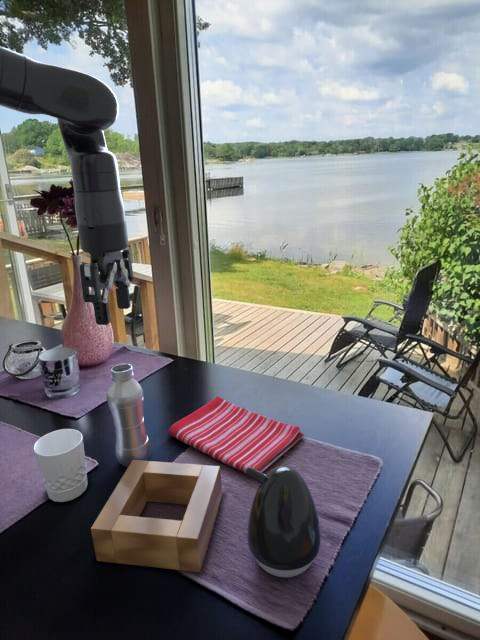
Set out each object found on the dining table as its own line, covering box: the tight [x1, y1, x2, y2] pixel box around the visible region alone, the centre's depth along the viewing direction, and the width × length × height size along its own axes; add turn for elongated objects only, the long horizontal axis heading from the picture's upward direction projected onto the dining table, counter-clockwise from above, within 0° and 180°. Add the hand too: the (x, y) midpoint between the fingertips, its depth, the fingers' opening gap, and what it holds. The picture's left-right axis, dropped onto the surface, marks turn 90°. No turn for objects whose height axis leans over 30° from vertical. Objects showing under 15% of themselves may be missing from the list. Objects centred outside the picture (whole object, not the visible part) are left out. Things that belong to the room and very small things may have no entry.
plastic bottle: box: [106, 363, 152, 468], centre depth 82 cm, size 6×7×20 cm
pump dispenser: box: [245, 465, 322, 578], centre depth 61 cm, size 10×10×15 cm
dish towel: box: [168, 395, 304, 474], centre depth 92 cm, size 17×24×3 cm
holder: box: [90, 460, 223, 573], centre depth 69 cm, size 16×16×6 cm
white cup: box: [33, 428, 89, 503], centre depth 77 cm, size 8×8×10 cm
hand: (114, 315), depth 76 cm, fingers open, 8 cm apart
